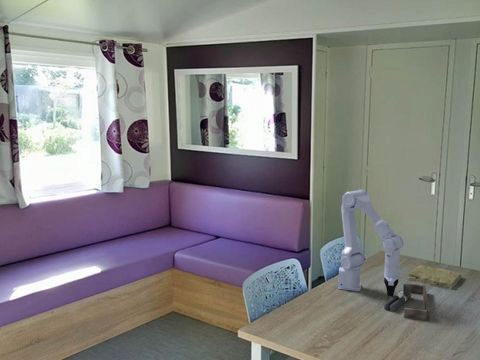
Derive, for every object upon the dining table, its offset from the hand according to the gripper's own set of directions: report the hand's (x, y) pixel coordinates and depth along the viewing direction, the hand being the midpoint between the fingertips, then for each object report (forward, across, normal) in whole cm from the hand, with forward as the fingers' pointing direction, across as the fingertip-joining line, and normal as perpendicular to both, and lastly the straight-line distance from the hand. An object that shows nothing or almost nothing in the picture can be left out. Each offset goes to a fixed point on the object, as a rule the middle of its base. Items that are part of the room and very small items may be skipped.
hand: (390, 295), depth 204 cm
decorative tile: (+3, +33, -19) cm, 38 cm away
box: (+2, 0, -10) cm, 10 cm away
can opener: (+3, -1, -3) cm, 5 cm away
